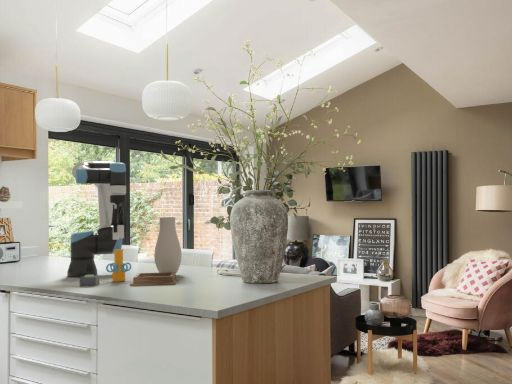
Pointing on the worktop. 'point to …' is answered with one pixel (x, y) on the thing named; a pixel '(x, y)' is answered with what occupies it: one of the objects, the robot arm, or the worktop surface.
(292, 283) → the worktop surface
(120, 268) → the orange block with rings
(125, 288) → the worktop surface
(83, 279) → the switch box
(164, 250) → the vase
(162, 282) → the brown wooden tray
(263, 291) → the worktop surface
